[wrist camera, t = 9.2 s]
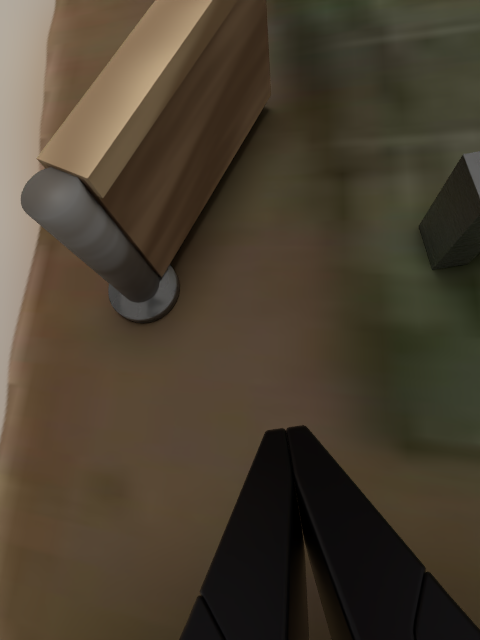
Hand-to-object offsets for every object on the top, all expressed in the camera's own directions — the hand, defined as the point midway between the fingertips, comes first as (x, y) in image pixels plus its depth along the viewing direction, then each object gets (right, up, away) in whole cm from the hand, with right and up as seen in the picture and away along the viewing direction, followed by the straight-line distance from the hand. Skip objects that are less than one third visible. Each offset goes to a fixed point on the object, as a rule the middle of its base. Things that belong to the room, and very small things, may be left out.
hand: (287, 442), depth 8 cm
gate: (-4, +11, +16) cm, 20 cm away
